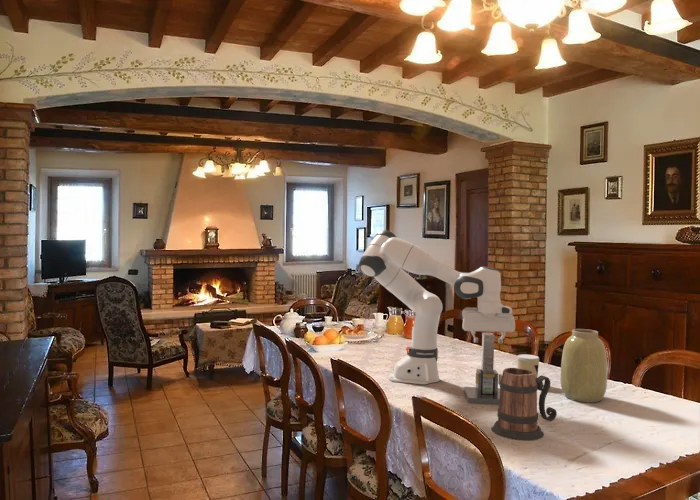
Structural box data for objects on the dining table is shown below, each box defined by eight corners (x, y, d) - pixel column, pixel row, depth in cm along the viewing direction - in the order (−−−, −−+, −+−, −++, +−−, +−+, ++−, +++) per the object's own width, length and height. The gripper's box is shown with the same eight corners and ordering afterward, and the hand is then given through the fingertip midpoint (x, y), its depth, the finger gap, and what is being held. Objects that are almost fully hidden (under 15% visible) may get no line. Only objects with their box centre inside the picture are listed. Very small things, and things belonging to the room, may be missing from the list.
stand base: (468, 403, 216) (469, 375, 216) (464, 391, 232) (464, 365, 232) (511, 405, 215) (511, 377, 214) (503, 393, 231) (504, 367, 230)
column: (482, 394, 221) (484, 335, 220) (480, 389, 227) (482, 332, 226) (493, 394, 220) (494, 335, 219) (490, 390, 226) (492, 332, 225)
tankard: (511, 443, 175) (513, 379, 175) (480, 425, 191) (482, 366, 191) (572, 435, 183) (573, 374, 183) (537, 418, 199) (539, 362, 199)
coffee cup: (539, 387, 241) (540, 359, 240) (517, 385, 243) (517, 358, 242) (537, 381, 250) (538, 354, 250) (515, 380, 252) (516, 353, 251)
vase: (604, 394, 232) (606, 329, 231) (608, 406, 216) (610, 336, 215) (559, 389, 238) (561, 326, 237) (560, 401, 221) (562, 332, 221)
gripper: (462, 308, 220) (462, 343, 221) (516, 309, 218) (515, 345, 219) (461, 306, 226) (460, 340, 227) (513, 307, 224) (512, 342, 225)
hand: (488, 342), depth 223 cm, fingers open, 8 cm apart
